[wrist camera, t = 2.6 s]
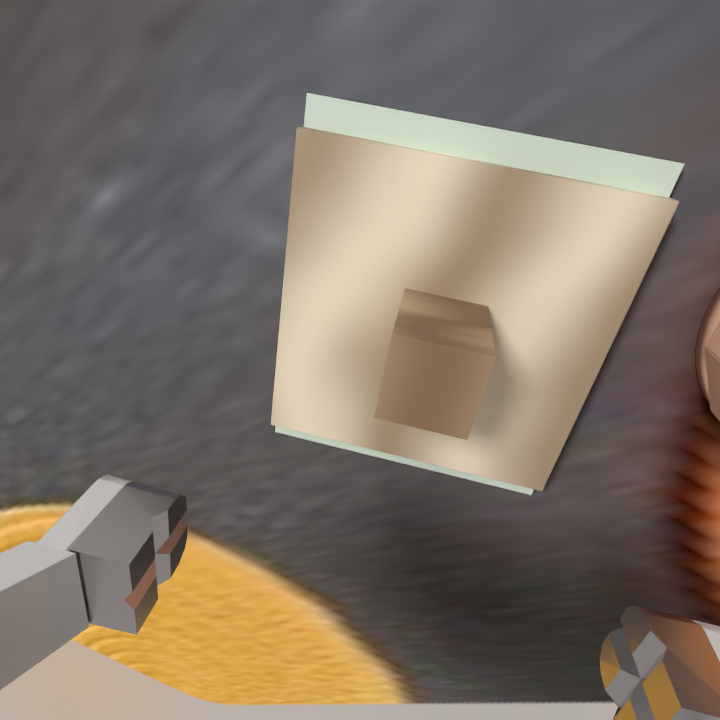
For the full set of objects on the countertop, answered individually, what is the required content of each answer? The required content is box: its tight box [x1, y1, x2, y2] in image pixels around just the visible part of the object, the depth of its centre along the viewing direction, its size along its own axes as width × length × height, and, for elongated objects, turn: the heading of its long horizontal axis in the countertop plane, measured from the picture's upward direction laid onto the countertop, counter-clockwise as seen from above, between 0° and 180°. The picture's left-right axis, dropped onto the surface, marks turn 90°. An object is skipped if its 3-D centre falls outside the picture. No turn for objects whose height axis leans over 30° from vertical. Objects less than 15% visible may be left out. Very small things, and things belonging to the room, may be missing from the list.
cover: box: [271, 127, 679, 491], centre depth 16 cm, size 12×12×5 cm
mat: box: [275, 93, 684, 495], centre depth 19 cm, size 12×14×1 cm
